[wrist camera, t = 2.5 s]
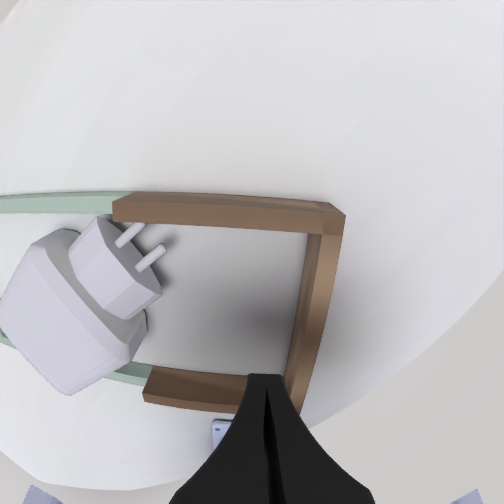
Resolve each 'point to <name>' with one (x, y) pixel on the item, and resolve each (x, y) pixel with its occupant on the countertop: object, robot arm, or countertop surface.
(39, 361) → the charger
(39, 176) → the countertop surface
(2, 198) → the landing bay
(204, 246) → the countertop surface
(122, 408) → the countertop surface
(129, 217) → the brown wooden u-shaped frame
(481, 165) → the countertop surface
